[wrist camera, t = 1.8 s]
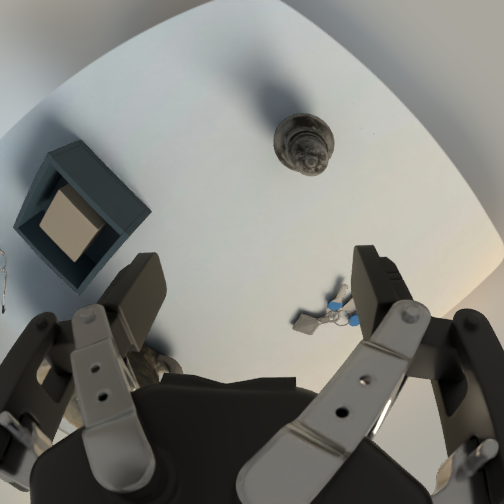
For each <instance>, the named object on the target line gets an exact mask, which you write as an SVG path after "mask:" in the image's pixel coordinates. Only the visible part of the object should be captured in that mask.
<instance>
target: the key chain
mask: <svg viewBox="0 0 504 504" xmlns="http://www.w3.org/2000/svg"><path fill="white" fill-rule="evenodd" d="M346 289H348V286H347V285H342V287H341V289H340V291H339V293H338V295H337V297H336V299H334V300H332V301H330V302H329V303H328V307H329V309H331V311H329V312H328V313H327V314H326V316H323V317H320V318H314V317H311V316H308V315H305V314H301V315H300V317H299V318H298V320H297V321H296V323H295V324H294V326H293V328H292V329H293V330H296V331H299V332H302V333H305V334H308V335H312V334H313V333H314V331H315V330H316V328H317V327H318V326H319V325H321V324H323V323H328V322H330V323H335V324H336V322H337V321H338V320H339V319H340V317H341V314H340V313H339V312H340V311H346V312H348V313H349V314H350V315H351V313H353V312H354V311H355V310H356V307H355V304H354V300H353V298H352V299H351V300H350V301H349V302H348V303H347V304H346V305H345V306H344V307H343V310H340V311H337V310H338V309H340V308H341V307H342V305H343V302H342V301H341V300H343V297H342V296H344V295H345V293H346ZM335 310H336V311H335ZM331 313H335V314H334V315H332V314H331ZM329 314H331V315H332V316H334V317H335V315H336V314H338V316H339V317H338V318H337V319H336V320H334V317H333V320H330V319H329V316H328V315H329ZM348 323H349V325H351V326H357V325H359V324H360V323H359V319H358V315H357V314H356V315H353V316H352V315H351V317H350V318H349V322H348ZM348 323H347V324H348ZM347 324H345V325H347ZM336 325H338V324H336ZM345 325H338V326H345Z"/></svg>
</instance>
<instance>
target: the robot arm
mask: <svg viewBox="0 0 504 504" xmlns="http://www.w3.org/2000/svg"><path fill="white" fill-rule="evenodd" d="M351 291H352V296H353V300H354V304H355V307H356V311H357V315H358V319H359V323H360V327H361V331H362V335H363V340H362V341H361V342H360V343H359V344H358V345H357V347H356V348H355V349H354V350H353V352H352V353H351V354H350V356H349V357H348V358H347V360H346V361H345V362H344V363H343V365H342V366H341V367H340V368H339V370H338V371H337V372H336V373H335V375H334V376H333V377H332V378H331V380H330V381H329V382H328V383H327V384H326V386H325V387H324V388H323V389H322V390H321V392H320V393H319V394H318V393H315V392H313V391H310V390H307V389H304V388H299V387H296V377H276V378H257V379H251V380H246V381H240V382H235V383H228V384H225V383H220V382H217V381H213V380H209V379H206V378H203V377H199V376H196V375H187V374H175V373H164V374H163V377H162V380H161V382H157V383H152V384H149V385H145V386H143V387H139V385H138V382H137V380H136V377H135V375H134V372H133V370H132V367H131V365H130V362H129V360H128V358H127V356H126V354H127V352H128V351H137V352H140V350H141V347H142V345H143V343H144V341H145V339H146V337H147V335H148V332H149V330H150V328H151V326H152V324H153V322H154V320H155V318H156V316H157V313H158V311H159V309H160V307H161V305H162V303H163V301H164V299H165V297H166V292H167V287H166V281H165V278H164V274H163V271H162V267H161V263H160V259H159V256H158V254H157V253H155V252H151V253H139V254H138V255H137V256H136V257H135V259H134V260H133V261H132V263H131V264H130V265H127V266H126V267H125V268H123V269H122V270H121V271H120V272H119V273H118V274H117V276H116V277H115V278H114V280H113V281H112V282H111V284H110V286H108V288H107V289H106V291H105V292H104V293H103V295H102V296H101V298H100V299H99V300H98V302H97V303H96V304H89V305H86V306H84V307H82V308H80V309H79V310H77V311H76V312H75V314H74V315H73V317H72V320H68V321H62V322H58V320H57V318H56V316H55V315H54V313H52V312H44V313H41V314H39V315H37V316H36V317H34V318H33V319H32V320H31V321H30V322H29V324H28V325H27V327H26V328H25V329H24V331H23V332H22V334H21V335H20V337H19V338H18V339H17V341H16V342H15V344H14V345H13V347H12V348H11V350H10V351H9V353H8V354H7V356H6V357H5V359H4V360H3V362H2V364H1V365H0V479H2V480H3V481H5V482H8V483H9V484H11V485H12V486H14V487H15V488H17V489H18V490H20V491H23V492H28V491H30V500H31V504H504V350H503V348H502V346H501V344H500V342H499V340H498V338H497V336H496V334H495V332H494V331H493V329H492V327H491V325H490V323H489V321H488V320H487V318H486V317H485V316H484V315H483V314H482V313H480V312H478V311H476V310H473V309H461V310H459V311H457V312H456V313H455V315H454V317H453V320H448V319H442V318H436V317H432V316H431V314H430V311H429V310H428V308H427V307H426V306H424V305H423V304H421V303H419V302H417V301H414V300H413V298H412V296H411V294H410V292H409V290H408V288H407V286H406V284H405V282H404V280H403V278H402V276H401V274H400V273H399V270H398V269H397V267H396V265H395V263H393V262H392V261H391V260H390V259H388V258H387V257H379V255H378V253H377V251H376V249H375V247H374V245H357V246H355V247H354V253H353V264H352V275H351ZM44 358H45V359H46V360H47V362H48V363H49V365H50V366H51V368H50V369H49V371H48V373H47V375H46V377H45V379H44V380H43V382H42V384H41V385H40V384H39V382H38V380H37V371H38V368H39V367H40V365H41V363H42V362H43V360H44ZM408 377H416V378H423V379H430V380H431V384H432V387H433V391H434V395H435V399H436V403H437V407H438V411H439V415H440V420H441V424H442V429H443V434H444V439H445V444H446V450H447V455H448V458H447V459H446V460H445V461H444V463H442V465H441V466H440V468H439V469H438V472H437V477H436V487H435V490H434V492H433V494H432V495H431V496H430V494H429V492H428V491H427V489H426V488H425V487H424V486H423V485H422V484H421V483H420V482H419V481H417V480H416V479H415V478H414V477H413V476H412V475H411V474H410V473H408V472H407V471H406V470H405V469H404V468H402V467H401V466H400V465H399V464H398V463H397V462H396V461H395V460H393V459H392V458H391V457H390V456H389V455H388V454H387V453H386V452H385V451H383V450H382V449H381V448H380V447H379V446H378V445H377V444H376V443H374V441H372V440H373V438H374V437H375V435H376V434H377V432H378V430H379V429H380V427H381V425H382V424H383V422H384V420H385V418H386V416H387V415H388V413H389V411H390V410H391V408H392V406H393V404H394V403H395V401H396V399H397V397H398V396H399V393H400V392H401V390H402V388H403V387H404V385H405V383H406V381H407V379H408ZM75 388H76V393H77V398H78V403H79V407H80V412H81V416H82V420H83V426H82V427H80V428H79V429H77V430H76V431H74V432H73V433H71V434H70V435H68V436H67V437H66V438H64V439H62V440H61V441H59V442H58V443H56V444H55V445H52V442H53V439H54V437H55V434H56V432H57V429H58V427H59V425H60V422H61V420H62V417H63V415H64V413H65V411H66V408H67V406H68V404H69V401H70V399H71V397H72V395H73V393H74V390H75Z"/></svg>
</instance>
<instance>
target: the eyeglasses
mask: <svg viewBox="0 0 504 504" xmlns="http://www.w3.org/2000/svg"><path fill="white" fill-rule="evenodd" d="M0 253H2V254H3V256H4V257H5V255H4V252H2V251H1V250H0ZM5 260H6V257H5ZM6 263H7V260H6ZM5 266H6V265H5ZM5 266H4V267H3V268H2V269H3V271H4V272H5V281H4V295H3V298H5V286H6V276H7V271H6V269H5ZM2 269H0V270H2ZM4 312H5V309H4V299H3V306H2V314H3V313H4Z"/></svg>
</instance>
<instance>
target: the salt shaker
mask: <svg viewBox="0 0 504 504" xmlns="http://www.w3.org/2000/svg"><path fill="white" fill-rule="evenodd" d="M274 150H275V153H276V155H277V157H278V159H279V160H280V161H281V162H282V163H283V164H284V165H285V166H286V167H288V168H289V169H291V170H294V171H297V172H300V173H302V174H303V175H306V176H316V175H319V174H321V173H322V172H323V171H324V170H325V169H326V167H327V164H328V160H329V159H330V158H331V156H332V153H333V150H334V137H333V134H332V132H331V130H330V128H329V126H328V125H327V124H326V123H325V122H324V121H323V120H321V119H320V118H318V117H316V116H313V115H311V114H296V115H292V116H290V117H288V118H286V119H285V120H284V121H283V122H282V123H281V124H280V125H279V127H278V128H277V130H276V132H275V135H274Z"/></svg>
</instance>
